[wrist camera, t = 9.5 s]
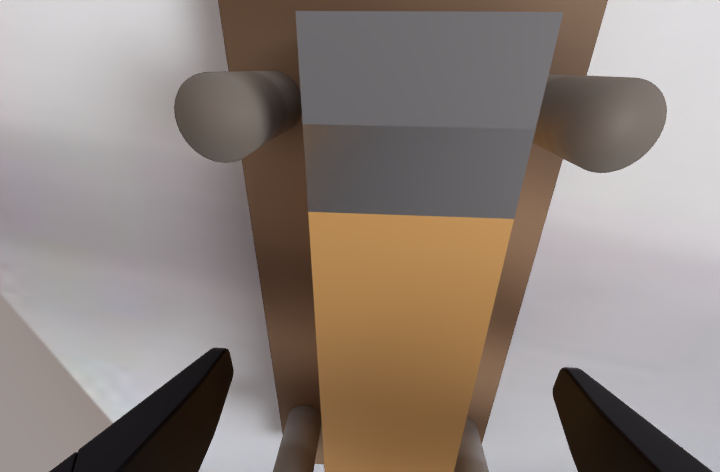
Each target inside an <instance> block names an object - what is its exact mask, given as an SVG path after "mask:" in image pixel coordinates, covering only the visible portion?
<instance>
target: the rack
mask: <svg viewBox="0 0 720 472" xmlns="http://www.w3.org/2000/svg"><path fill="white" fill-rule="evenodd" d="M607 1H608V0H218V2H219V9H220V16H221V23H222V29H223V36H224V43H225V49H226V56H227V63H228V70H229V72H204V73H199V74H196V75H194V76H192V77H190V78H188V79H187V80H186V81H185V82H184V83H183V84H182V85H181V87H180V89H179V90H178V93H177V95H176V99H175V106H174V110H175V118H176V122H177V125H178V128H179V130H180V132H181V134H182V136H183V137H184V139H185V140H186V142H187V143H188V144H189V145H190V146H191V147H192V148H193V149H194V150H195V151H196V152H198V153H199V154H200V155H202V156H204V157H206V158H208V159H210V160H213V161H217V162H224V163H227V162H235V161H238V160H240V159H242V164H243V170H244V177H245V184H246V190H247V197H248V204H249V211H250V217H251V224H252V231H253V237H254V244H255V251H256V258H257V264H258V271H259V278H260V284H261V291H262V298H263V305H264V311H265V318H266V325H267V331H268V338H269V345H270V352H271V358H272V365H273V372H274V378H275V385H276V392H277V399H278V405H279V412H280V419H281V425H282V432H283V437H282V441H281V444H280V448H279V452H278V455H277V459H276V462H275V466H274V470H273V472H313V470H314V464H324V452H323V437H322V421H321V405H320V389H319V374H318V358H317V342H316V327H315V311H314V295H313V279H312V264H311V248H310V232H309V217H308V201H307V185H306V169H305V154H304V138H303V122H302V107H301V91H300V75H299V59H298V44H297V28H296V12H295V11H466V12H563V16H562V21H561V25H560V29H559V33H558V37H557V42H556V46H555V50H554V54H553V58H552V63H551V67H550V71H549V75H548V79H547V83H546V88H545V92H544V96H543V100H542V104H541V109H540V113H539V117H538V121H537V125H536V130H535V134H534V138H533V142H532V146H531V151H530V155H529V159H528V163H527V167H526V172H525V176H524V180H523V184H522V188H521V193H520V197H519V201H518V205H517V209H516V214H515V218H514V222H513V226H512V230H511V234H510V239H509V243H508V247H507V251H506V255H505V260H504V264H503V268H502V272H501V276H500V281H499V285H498V289H497V293H496V297H495V302H494V306H493V310H492V314H491V318H490V323H489V327H488V331H487V335H486V339H485V344H484V348H483V352H482V356H481V360H480V365H479V369H478V373H477V377H476V381H475V385H474V390H473V394H472V398H471V402H470V406H469V411H468V415H467V419H466V423H465V427H464V432H463V436H462V440H461V444H460V448H459V453H458V457H457V461H456V465H455V469H454V472H489V471H488V467H487V463H486V459H485V456H484V452H483V448H482V441H483V437H484V434H485V430H486V427H487V423H488V420H489V416H490V413H491V409H492V406H493V402H494V399H495V395H496V392H497V388H498V385H499V381H500V378H501V374H502V371H503V367H504V364H505V360H506V357H507V353H508V349H509V346H510V342H511V339H512V335H513V332H514V328H515V325H516V321H517V318H518V314H519V311H520V307H521V304H522V300H523V297H524V293H525V290H526V286H527V283H528V279H529V276H530V272H531V269H532V265H533V262H534V258H535V254H536V251H537V247H538V244H539V240H540V237H541V233H542V230H543V226H544V223H545V219H546V216H547V212H548V209H549V205H550V202H551V198H552V195H553V191H554V188H555V184H556V181H557V177H558V174H559V170H560V167H561V163H562V160H563V159H565V160H567V161H569V162H571V163H573V164H575V165H577V166H579V167H581V168H583V169H585V170H588V171H591V172H597V173H606V172H613V171H616V170H620V169H622V168H625V167H627V166H629V165H631V164H632V163H634V162H636V161H637V160H639V159H640V158H641V157H642V156H644V155H645V154H646V153H647V152H648V151H649V150H650V149H651V148H652V146H653V145H654V144H655V142H656V141H657V139H658V138H659V136H660V134H661V132H662V130H663V127H664V124H665V120H666V113H667V108H666V102H665V98H664V96H663V94H662V92H661V91H660V90H659V88H658V87H657V86H655V85H654V84H653V83H651V82H649V81H647V80H644V79H640V78H628V77H603V76H586V75H587V72H588V68H589V65H590V61H591V58H592V54H593V50H594V47H595V43H596V40H597V36H598V33H599V29H600V26H601V22H602V19H603V15H604V12H605V8H606V5H607Z"/></svg>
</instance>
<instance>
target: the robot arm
mask: <svg viewBox="0 0 720 472" xmlns="http://www.w3.org/2000/svg"><path fill="white" fill-rule="evenodd" d="M232 378H233V366H232V361H231V357H230V352H229V350H228V349H226V348H212V349H211V350H209V351H208V352H206V353H205V354H204V355H203V356H201V357H200V358H199V359H197V360H196V361H195V362H193V363H192V364H191V365H189V366H188V367H187V368H185V369H184V370H183V371H181V372H180V373H179V374H178V375H176V376H175V377H174V378H172V379H171V380H170V381H168V382H167V383H166V384H164V385H163V386H162V387H160V388H159V389H158V390H157V391H155V392H154V393H153V394H151V395H150V396H149V397H147V398H146V399H145V400H143V401H142V402H141V403H139V404H138V405H137V406H135V407H134V408H133V409H132V410H130V411H129V412H128V413H126V414H125V415H124V416H122V417H121V418H120V419H118V420H117V421H116V422H114V423H113V424H112V425H111V426H109V427H108V428H107V429H105V430H104V431H103V432H101V433H100V434H99V435H97V436H96V437H95V438H93V439H92V440H91V441H89V442H88V443H87V444H86V445H84V446H83V447H82V448H80V449H79V451H78V452H75V453H73V454H72V455H71V456H70V457H68V458H67V459H66V460H64V461H63V462H62V463H60V464H59V465H58V466H56V467H55V468H54V469H52V470H51V471H50V472H198V471H199V469H200V466H201V464H202V462H203V459H204V457H205V455H206V453H207V450H208V448H209V446H210V443H211V441H212V438H213V436H214V433H215V431H216V428H217V425H218V422H219V419H220V415H221V412H222V409H223V406H224V403H225V400H226V397H227V393H228V390H229V387H230V384H231V381H232ZM553 397H554V401H555V404H556V407H557V410H558V414H559V417H560V420H561V423H562V426H563V429H564V433H565V436H566V439H567V442H568V445H569V448H570V451H571V454H572V457H573V460H574V462H575V465H576V467H577V470H578V472H712V471H711V470H710V469H709V468H707V467H706V466H705V465H703V464H702V463H701V462H700V461H698V460H697V459H696V458H694V457H693V456H692V455H691V454H689V453H688V452H687V451H685V450H684V449H683V448H681V447H680V446H679V445H678V444H676V443H675V442H674V441H672V440H671V439H670V438H669V437H667V436H666V435H665V434H663V433H662V432H661V431H660V430H658V429H657V428H656V427H654V426H653V425H652V424H651V423H649V422H648V421H647V420H645V419H644V418H643V417H642V416H640V415H639V414H638V413H636V412H635V411H634V410H633V409H631V408H630V407H629V406H627V405H626V404H625V403H624V402H622V401H621V400H620V399H618V398H617V397H616V396H615V395H613V394H612V393H611V392H609V391H608V390H607V389H605V388H604V387H603V386H602V385H600V384H599V383H598V382H596V381H595V380H594V379H593V378H591V377H590V376H589V375H587V374H586V373H585V372H584V371H582V370H581V369H578V368H568V367H564V368H562V369H561V370H560V372H559V374H558V377H557V379H556V382H555V384H554V387H553Z"/></svg>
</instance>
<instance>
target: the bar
mask: <svg viewBox="0 0 720 472" xmlns="http://www.w3.org/2000/svg"><path fill="white" fill-rule="evenodd" d="M295 12H296V28H297V44H298V59H299V75H300V91H301V107H302V122H303V138H304V154H305V169H306V185H307V201H308V217H309V232H310V248H311V264H312V279H313V295H314V311H315V327H316V342H317V358H318V374H319V389H320V405H321V421H322V437H323V452H324V468H325V472H454V469H455V465H456V461H457V457H458V453H459V448H460V444H461V440H462V436H463V432H464V427H465V423H466V419H467V415H468V411H469V406H470V402H471V398H472V394H473V390H474V385H475V381H476V377H477V373H478V369H479V365H480V360H481V356H482V352H483V348H484V344H485V339H486V335H487V331H488V327H489V323H490V318H491V314H492V310H493V306H494V302H495V297H496V293H497V289H498V285H499V281H500V276H501V272H502V268H503V264H504V260H505V255H506V251H507V247H508V243H509V239H510V234H511V230H512V226H513V222H514V218H515V214H516V209H517V205H518V201H519V197H520V193H521V188H522V184H523V180H524V176H525V172H526V167H527V163H528V159H529V155H530V151H531V146H532V142H533V138H534V134H535V130H536V125H537V121H538V117H539V113H540V109H541V104H542V100H543V96H544V92H545V88H546V83H547V79H548V75H549V71H550V67H551V63H552V58H553V54H554V50H555V46H556V42H557V37H558V33H559V29H560V25H561V21H562V16H563V12H466V11H295Z"/></svg>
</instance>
